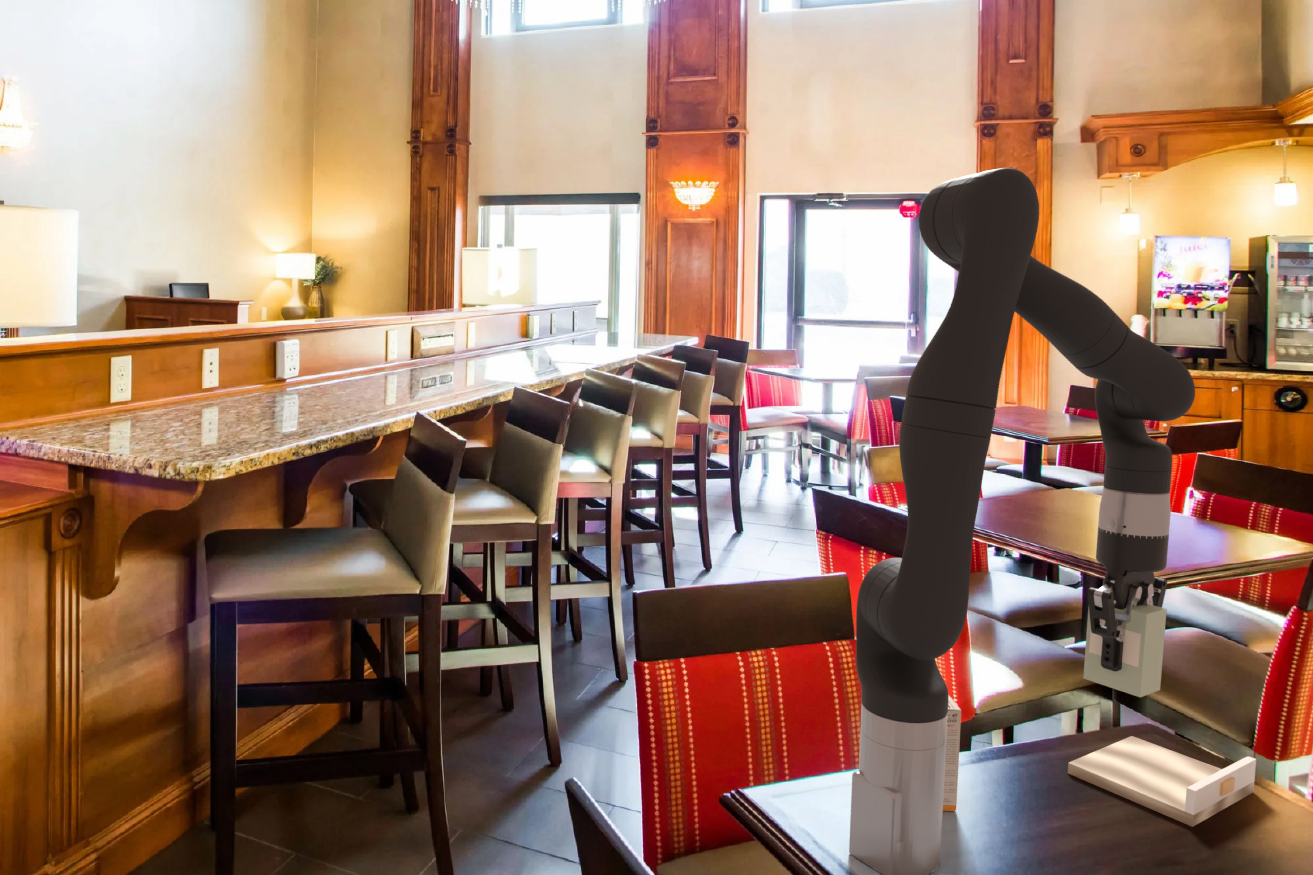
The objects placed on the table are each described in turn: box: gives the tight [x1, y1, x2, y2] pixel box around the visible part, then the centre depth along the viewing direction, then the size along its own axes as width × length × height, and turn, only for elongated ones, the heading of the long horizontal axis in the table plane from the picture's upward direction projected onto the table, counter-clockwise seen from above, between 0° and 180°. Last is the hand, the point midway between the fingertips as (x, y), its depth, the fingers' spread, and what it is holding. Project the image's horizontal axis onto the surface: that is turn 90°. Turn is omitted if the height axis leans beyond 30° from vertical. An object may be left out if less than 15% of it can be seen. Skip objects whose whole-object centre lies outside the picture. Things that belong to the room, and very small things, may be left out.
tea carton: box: [1082, 605, 1167, 698], centre depth 108 cm, size 5×7×10 cm, turn 34°
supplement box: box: [943, 694, 962, 812], centre depth 113 cm, size 8×5×13 cm, turn 179°
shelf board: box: [1067, 735, 1257, 828], centre depth 117 cm, size 16×16×4 cm
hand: (1122, 664), depth 108 cm, fingers closed on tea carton, 4 cm apart
